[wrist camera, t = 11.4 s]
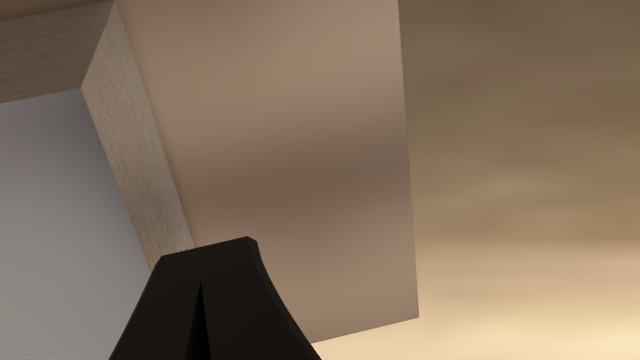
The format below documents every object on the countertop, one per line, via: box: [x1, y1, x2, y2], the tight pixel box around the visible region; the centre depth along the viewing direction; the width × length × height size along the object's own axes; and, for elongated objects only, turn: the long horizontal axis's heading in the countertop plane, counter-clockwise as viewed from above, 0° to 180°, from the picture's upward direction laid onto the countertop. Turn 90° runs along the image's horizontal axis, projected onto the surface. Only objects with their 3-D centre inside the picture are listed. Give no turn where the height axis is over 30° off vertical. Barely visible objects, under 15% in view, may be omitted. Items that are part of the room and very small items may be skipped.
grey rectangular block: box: [0, 0, 195, 360], centre depth 10 cm, size 7×3×4 cm, turn 8°
